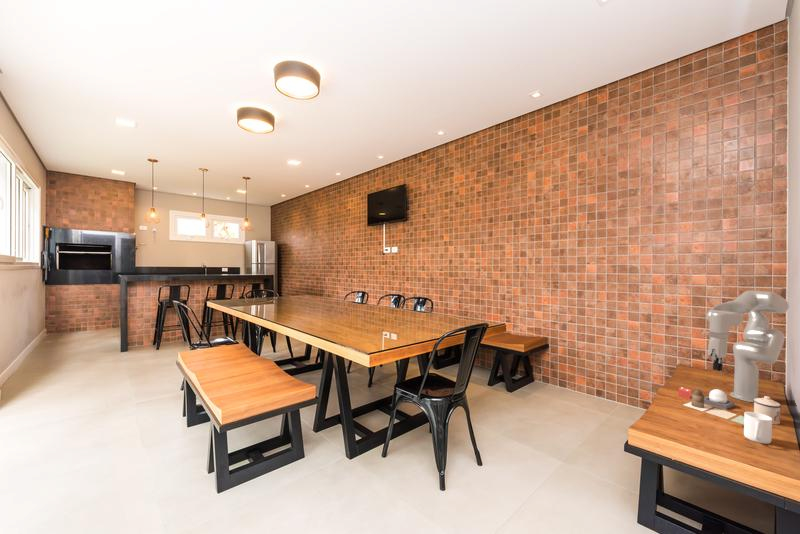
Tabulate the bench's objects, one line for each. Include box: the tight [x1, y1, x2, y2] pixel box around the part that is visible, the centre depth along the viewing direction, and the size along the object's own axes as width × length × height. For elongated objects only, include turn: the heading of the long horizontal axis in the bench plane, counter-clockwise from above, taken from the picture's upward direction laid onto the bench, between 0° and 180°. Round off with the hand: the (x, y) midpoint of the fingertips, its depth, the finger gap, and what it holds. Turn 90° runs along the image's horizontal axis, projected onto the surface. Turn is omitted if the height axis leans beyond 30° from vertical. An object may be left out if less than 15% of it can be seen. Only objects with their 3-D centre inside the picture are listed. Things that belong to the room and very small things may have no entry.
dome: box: [708, 388, 728, 404], centre depth 182 cm, size 7×7×7 cm
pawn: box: [691, 389, 705, 408], centre depth 179 cm, size 5×5×9 cm
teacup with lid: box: [753, 395, 782, 426], centre depth 167 cm, size 12×9×12 cm
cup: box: [743, 411, 773, 445], centre depth 147 cm, size 8×12×10 cm
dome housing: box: [704, 395, 736, 410], centre depth 182 cm, size 10×10×3 cm
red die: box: [678, 386, 692, 400], centre depth 192 cm, size 5×5×6 cm
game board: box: [683, 401, 744, 428], centre depth 171 cm, size 13×30×1 cm, turn 27°
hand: (717, 370), depth 181 cm, fingers closed
